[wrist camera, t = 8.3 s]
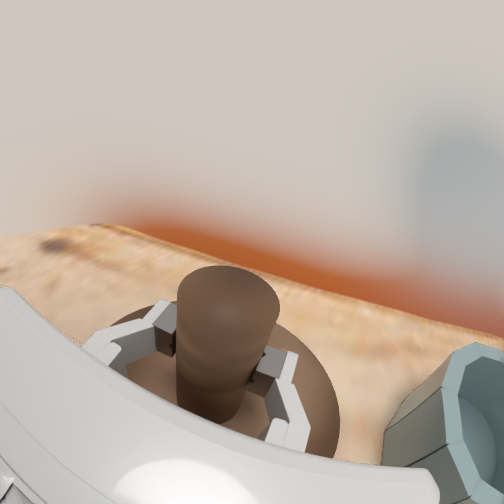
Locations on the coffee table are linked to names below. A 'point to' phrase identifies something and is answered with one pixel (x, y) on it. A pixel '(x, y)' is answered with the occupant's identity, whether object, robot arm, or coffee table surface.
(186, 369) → the walnut lid
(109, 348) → the robot arm
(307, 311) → the coffee table surface
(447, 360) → the ceramic bowl
